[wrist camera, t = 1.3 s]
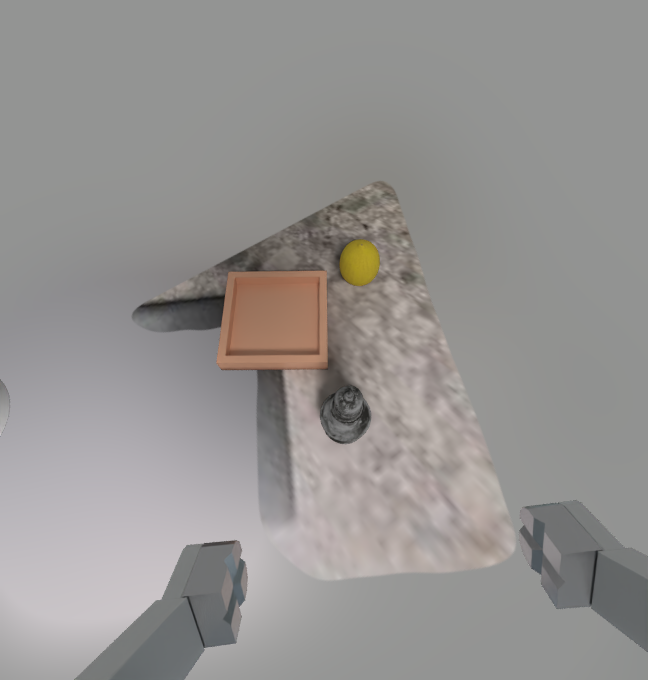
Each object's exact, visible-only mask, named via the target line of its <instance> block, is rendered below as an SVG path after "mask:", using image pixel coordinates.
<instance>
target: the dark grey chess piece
mask: <svg viewBox="0 0 648 680" xmlns="http://www.w3.org/2000/svg"><path fill="white" fill-rule="evenodd" d="M320 420H321V424H322V426H323V428H324V430H325V432H326V434H327V435H328V436H329V438H330V439H332V440H333V441H335V442H337V443H340V444H349V443H353V442H355V441H357V440H358V439H359V438H360V437H362V436H363V435H364V434H365V433H366V431H367V430H368V428H369V426H370V422H371V411H370V407H369V405H368V404H367V402H366V401H365V400H364V399H363V396H362V394H361V392H360V391H359V389H358V388H356V387H354V386H344V387H341V388H340V389H339V390H338V391H337V392H336V393H334V394H332V395H330V396H329V397H328V398H327V399H326V400H325V402H324V403H323V405H322V408H321V411H320Z"/></svg>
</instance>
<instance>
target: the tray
mask: <svg viewBox="0 0 648 680" xmlns="http://www.w3.org/2000/svg"><path fill="white" fill-rule="evenodd" d="M217 364H218V366H219V367H220V368H221V370H291V369H328V356H327V271H258V272H228V279H227V287H226V294H225V302H224V310H223V317H222V325H221V333H220V341H219V348H218V355H217Z"/></svg>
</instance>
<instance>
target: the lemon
mask: <svg viewBox="0 0 648 680" xmlns="http://www.w3.org/2000/svg"><path fill="white" fill-rule="evenodd" d="M339 265H340V272H341V274H342V276H343V278H344V279H345V280H346V281H347V282H348V283H350V284H352V285H355V286H363V285H366V284H368V283H370V282H371V281H372V280H373V279H374V278H375V276H376V275H377V273H378V270H379V266H380V258H379V253H378V250H377V248H376V247H375V246H374V245H373V244H372V243H371V242H369V241H367V240H363V239H359V240H354V241H352V242H350V243H349V244H348V245H347V246H346V247H345V248H344V250H343V252H342V254H341V257H340V263H339Z"/></svg>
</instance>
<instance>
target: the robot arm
mask: <svg viewBox="0 0 648 680" xmlns="http://www.w3.org/2000/svg"><path fill="white" fill-rule="evenodd" d="M9 410H10V399H9V394H8V391H7V389H6V387H5V385H4V384H3V382H2V381H1V380H0V436H1V434H2V432H3V430H4V428H5V426H6V423H7V420H8V416H9ZM520 519H521V521H522V522H523V524H524V526H523V527H522V528H521V529H520V530H519V541H520V544H521V549H522V552H523V554H524V556H525V559H526V561H527V562H528V564H529V566H530V567H531V569H533V570H535V571H536V572H537V573H539V574H541V585H542V587H543V588H544V590H545V591H546V593H547V594H548V596H549V598H550V599H551V601H552V602H553V604H554V606H555V607H556V609H563V608H577V607H590V606H591V608H592V609H593V610H594V611H595V612H597V613H598V614H599V615H600V616H602V617H603V618H604V619H606V620H607V621H608V622H610V623H611V624H612V625H613V626H615V627H616V628H617V629H618V630H620V631H621V632H622V633H624V634H625V635H626V636H627V637H629V638H630V639H631V640H633V641H634V642H635V643H636V644H638V645H639V646H640V647H642V648H643V649H644V650H645V651H647V652H648V556H647V555H645V554H643V553H641V552H639V551H636V550H635V549H633V548H625V547H623V545H622V544H621V543H620V542H619V541H618V540H617V539H616V538H615V537H614V536H613V535H612V534H611V533H610V532H609V531H608V530H607V529H606V528H605V527H604V526H603V525H602V524H601V523H600V522H599V520H598V519H597V518H596V517H595V516H594V515H593V514H591V512H590V511H589V510H588V509H587V508H586V507H585V506H584V505H583V504H582V503H581V502H579V501H577V500H573V501H565V502H559V503H550V504H542V505H534V506H526V507H522V509H521V510H520ZM241 552H242V549H241V545H240V542H239V541H237V540H236V541H224V542H212V543H204V544H194V545H187V546H186V547H185V548H184V549H183V551H182V553H181V555H180V558H179V560H178V562H177V565H176V567H175V569H174V572H173V574H172V576H171V579H170V581H169V584H168V586H167V588H166V590H165V593H164V595H163V597H162V600H157V601H155V602H154V603H153V604H152V605H151V606H150V607H149V608H148V609H147V610H146V611H145V612H144V613H143V614H142V615H141V616H140V617H139V618H138V619H137V620H136V621H134V622H133V623H132V624H131V625H130V626H129V627H128V628H127V629H126V630H125V631H124V632H123V633H122V634H121V635H120V636H119V637H118V638H117V639H116V640H115V641H114V642H113V643H112V644H111V645H110V646H109V647H108V648H107V649H106V650H105V651H103V652H102V653H101V654H100V655H99V656H98V657H97V658H96V659H95V660H94V661H93V662H92V663H91V664H90V665H89V666H88V667H87V668H86V669H85V670H84V671H83V672H82V673H81V674H80V675H79V676H78V677H77V678H76V679H74V680H184V679H185V678H186V676H187V675H188V673H189V672H190V670H191V669H192V667H193V666H194V665H195V663H196V662H197V660H198V659H199V657H200V656H201V654H202V653H203V652H204V648H206V647H214V646H220V645H227V644H234V643H236V642H237V637H238V632H239V627H240V622H241V618H242V616H241V612H240V609H239V607H240V605H241V604H242V603H243V602H244V601H245V597H246V591H247V579H248V576H247V568H246V564H245V562H244V561H243V560H242V559H241V558H240V556H241Z"/></svg>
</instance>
